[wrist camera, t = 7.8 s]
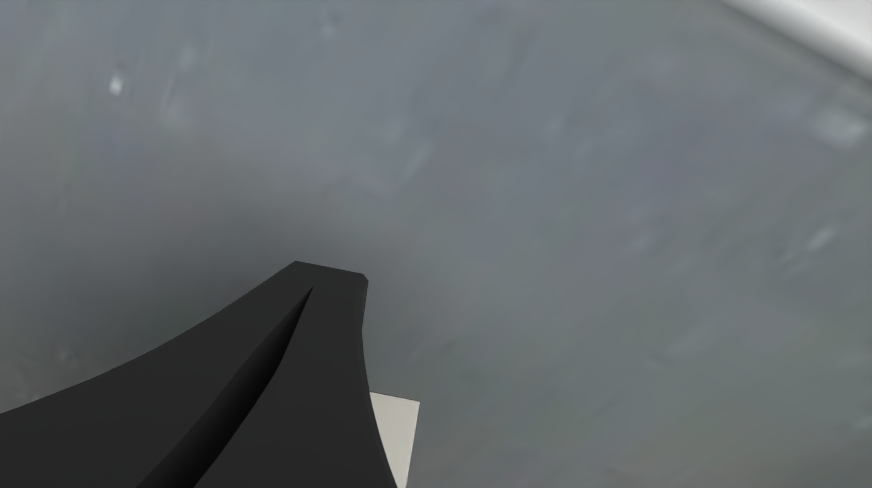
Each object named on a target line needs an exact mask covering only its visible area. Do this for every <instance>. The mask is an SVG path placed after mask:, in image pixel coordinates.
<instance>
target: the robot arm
mask: <svg viewBox="0 0 872 488" xmlns="http://www.w3.org/2000/svg"><path fill="white" fill-rule="evenodd" d="M367 287H368V280H367V278H366V277H365V276H364V275H363V274H361V273H356V272H351V271H345V270H340V269H335V268H330V267H325V266H320V265H315V264H310V263H304V262H299V261H294V262H293V263H291V264H290V265H288V266H287V267H285V268H284V269H282V270H281V271H279V272H278V273H276V274H275V275H273V276H272V277H270V278H269V279H267V280H266V281H265V282H263V283H262V284H260V285H259V286H257V287H256V288H254V289H253V290H251V291H250V292H248V293H247V294H245V295H244V296H242V297H241V298H239V299H238V300H236V301H235V302H233V303H232V304H230V305H229V306H227V307H225V308H224V309H222V310H221V311H219V312H218V313H216V314H215V315H213V316H211V317H210V318H208V319H207V320H205V321H203V322H201V323H200V324H198V325H196V326H195V327H193V328H191V329H189V330H188V331H186V332H184V333H182V334H181V335H179V336H177V337H175V338H174V339H172V340H170V341H169V342H167V343H165V344H163V345H161V346H159V347H157V348H155V349H154V350H152V351H150V352H148V353H146V354H144V355H142V356H140V357H138V358H136V359H133V360H131V361H129V362H127V363H125V364H123V365H121V366H118V367H116V368H114V369H112V370H110V371H108V372H105V373H103V374H101V375H99V376H96V377H94V378H92V379H90V380H87V381H85V382H82V383H80V384H77V385H75V386H72V387H69V388H67V389H64V390H62V391H59V392H57V393H54V394H52V395H49V396H47V397H44V398H41V399H39V400H36V401H34V402H31V403H29V404H26V405H24V406H21V407H19V408H16V409H13V410H10V411H7V412H4V413H2V414H0V488H398V487H397V484H396V482H395V479H394V476H393V474H392V471H391V468H390V466H389V463H388V460H387V456H386V453H385V450H384V447H383V443H382V440H381V437H380V433H379V430H378V426H377V422H376V418H375V414H374V410H373V406H372V401H371V397H370V392H369V386H368V381H367V375H366V369H365V361H364V354H363V341H362V325H363V317H364V310H365V302H366V295H367Z"/></svg>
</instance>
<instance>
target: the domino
mask: <svg viewBox="0 0 872 488" xmlns="http://www.w3.org/2000/svg"><path fill="white" fill-rule="evenodd" d="M370 397H371V401H372V406H373V410H374V414H375V418H376V422H377V426H378V430H379V433H380V437H381V440H382V443H383V447H384V450H385V453H386V456H387V460H388V463H389V466H390V468H391V471H392V474H393V476H394V479H395V482H396V484H397V487H398V488H406V483H407V477H408V471H409V465H410V459H411V453H412V447H413V441H414V435H415V429H416V422H417V416H418V410H419V404H420V402H418V401H413V400H408V399H403V398H398V397H393V396H388V395H383V394H378V393H372V392H370Z"/></svg>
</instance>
